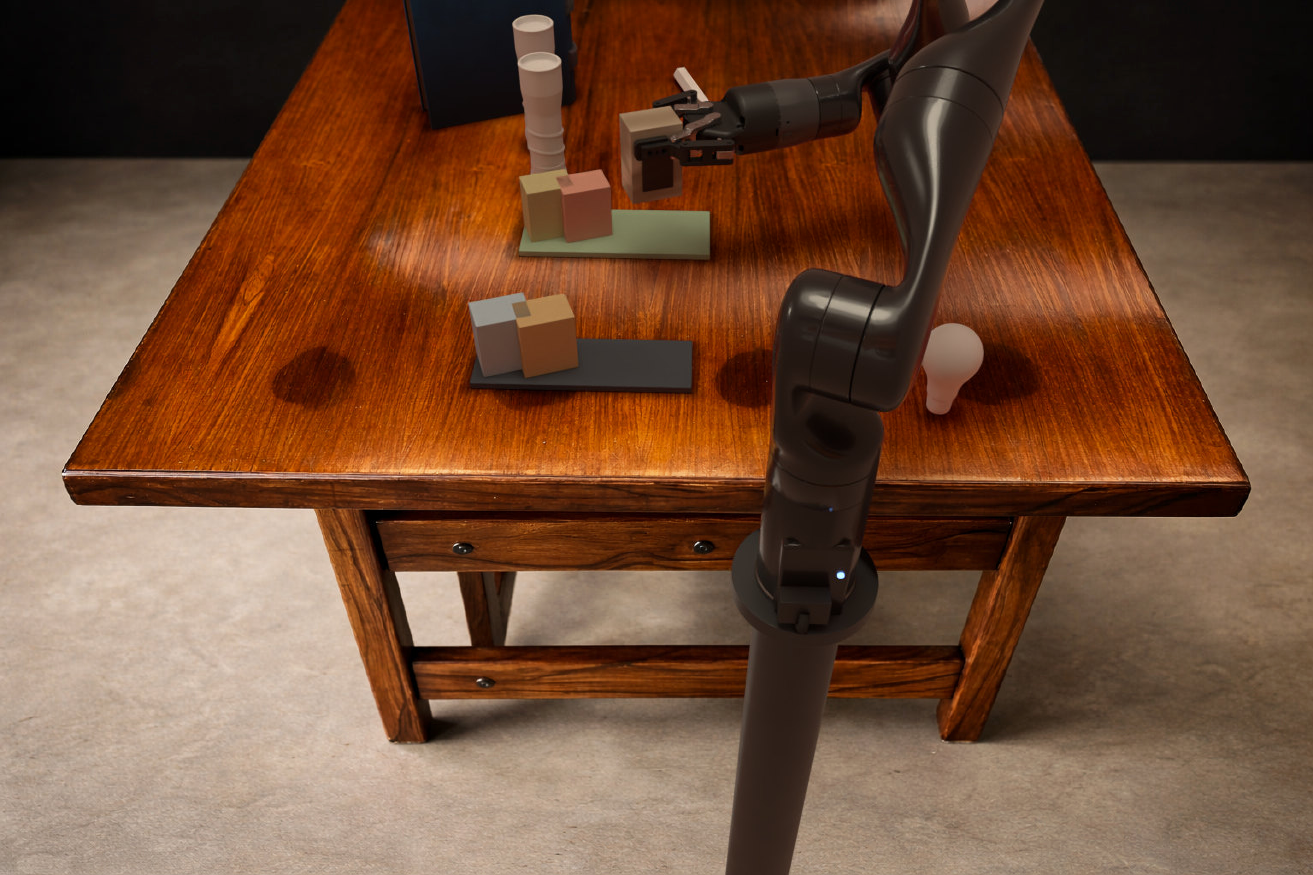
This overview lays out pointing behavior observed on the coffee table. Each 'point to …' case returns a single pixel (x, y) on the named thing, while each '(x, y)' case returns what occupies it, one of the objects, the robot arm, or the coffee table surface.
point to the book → (479, 56)
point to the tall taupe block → (654, 174)
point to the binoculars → (540, 91)
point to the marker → (688, 83)
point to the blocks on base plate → (567, 352)
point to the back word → (602, 222)
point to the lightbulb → (950, 363)
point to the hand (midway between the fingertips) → (628, 139)
